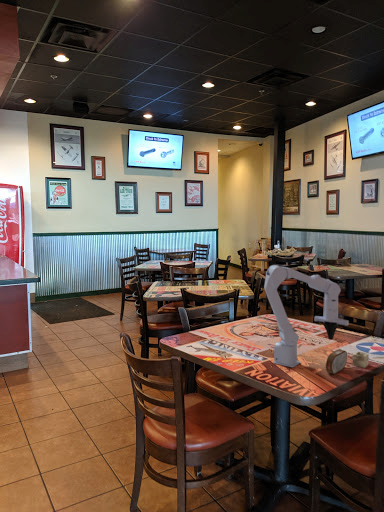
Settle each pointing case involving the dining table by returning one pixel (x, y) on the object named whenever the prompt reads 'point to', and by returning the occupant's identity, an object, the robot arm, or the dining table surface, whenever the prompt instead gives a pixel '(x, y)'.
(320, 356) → the dining table surface
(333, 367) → the tin
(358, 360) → the letter cube
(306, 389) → the dining table surface
